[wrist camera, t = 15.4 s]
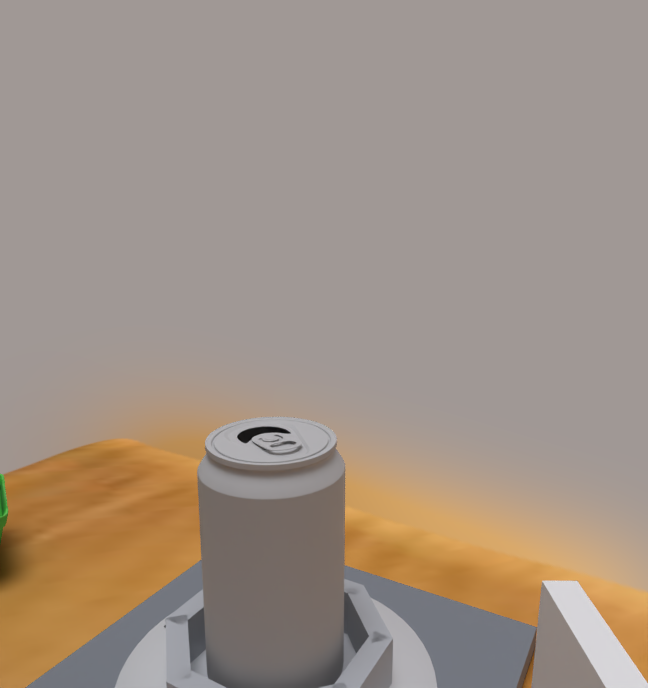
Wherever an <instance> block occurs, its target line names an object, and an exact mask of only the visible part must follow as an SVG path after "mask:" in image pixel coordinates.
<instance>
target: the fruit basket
mask: <svg viewBox="0 0 648 688" xmlns="http://www.w3.org/2000/svg"><path fill="white" fill-rule="evenodd" d="M7 516H8V507H7V499H6V491H5V481H4V476H3V475H2V474H0V543H1V537H2V531H3V527H4V526H5V524H6V521H7Z"/></svg>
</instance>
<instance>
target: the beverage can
mask: <svg viewBox="0 0 648 688" xmlns="http://www.w3.org/2000/svg"><path fill="white" fill-rule="evenodd" d="M336 445H337V438H336V435H335V433H334V432H333V431H332V430H331V429H330V428H328V427H327V426H325V425H323V424H320V423H317V422H314V421H310V420H306V419H300V418H292V417H262V418H252V419H246V420H241V421H237V422H233V423H230V424H227V425H224V426H222V427H220V428H218V429H216V430H215V431H213V432H212V433H211V434H209V436H208V437H207V438H206V442H205V449H206V455H205V456H204V458H203V459H202V461H201V463H200V465H199V467H198V471H197V475H198V496H199V517H200V538H201V559H202V579H203V600H204V621H205V642H206V663H207V675H208V679H210V680H212V681H214V682H216V683H218V684H220V685H222V686H224V687H226V688H319V687H323V686H328V685H333V684H335V682H336V681H337V680H338V678H339V677H340V675H341V673H342V669H343V662H344V549H345V463H344V460H343V458H342V457H341V455H340V454H339V452H338V451H337V450H336Z"/></svg>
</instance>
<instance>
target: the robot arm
mask: <svg viewBox="0 0 648 688" xmlns="http://www.w3.org/2000/svg"><path fill="white" fill-rule="evenodd" d="M531 688H648V683H647V682H646V680H645V679H644V677H643V676H642V674H641V673H640V671H639V670H638V669H637V667H636V666H635V664H634V663H633V661H632V660H631V658H630V657H629V655H628V654H627V653H626V651H625V650H624V648H623V647H622V645H621V644H620V642H619V641H618V640H617V638H616V637H615V635H614V634H613V632H612V631H611V629H610V628H609V626H608V625H607V624H606V622H605V621H604V619H603V618H602V616H601V615H600V613H599V612H598V611H597V609H596V608H595V606H594V605H593V603H592V602H591V600H590V599H589V597H588V596H587V595H586V593H585V592H584V590H583V589H582V587H581V586H580V584H579V583H578V582H577V581H542V587H541V597H540V607H539V617H538V627H537V637H536V647H535V657H534V667H533V677H532V687H531Z"/></svg>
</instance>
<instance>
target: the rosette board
mask: <svg viewBox="0 0 648 688" xmlns="http://www.w3.org/2000/svg"><path fill="white" fill-rule="evenodd" d="M536 631H537V627H534V626H531V625H528V624H525V623H522V622H519V621H516V620H513V619H509V618H506V617H503V616H500V615H497V614H494V613H491V612H488V611H485V610H482V609H478V608H475V607H472V606H469V605H466V604H463V603H460V602H457V601H454V600H450V599H447V598H444V597H441V596H438V595H435V594H432V593H429V592H426V591H423V590H419V589H416V588H413V587H410V586H407V585H404V584H401V583H398V582H395V581H392V580H388V579H385V578H382V577H379V576H376V575H373V574H370V573H367V572H364V571H361V570H357V569H354V568H351V567H348V566H345V565H344V662H343V669H342V673H341V675H340V677H339V678H338V680H337V681H336V682H335V684H333V685H328V686H323V687H319V688H522V685H523V682H524V679H525V676H526V673H527V670H528V667H529V664H530V661H531V658H532V655H533V652H534V649H535V643H536ZM26 688H226V687H224V686H222V685H220V684H218V683H216V682H214V681H212V680H210V679H208V675H207V663H206V642H205V621H204V600H203V579H202V560H200V561H199V562H198V563H196V564H195V565H194V566H192V567H191V568H189V569H188V570H187V571H185V572H184V573H183V574H181V575H180V576H178V577H177V578H176V579H174V580H173V581H172V582H170V583H169V584H167V585H166V586H165V587H163V588H162V589H161V590H159V591H158V592H156V593H155V594H154V595H152V596H151V597H150V598H148V599H147V600H145V601H144V602H143V603H141V604H140V605H138V606H137V607H136V608H134V609H133V610H132V611H130V612H129V613H127V614H126V615H125V616H123V617H122V618H121V619H119V620H118V621H116V622H115V623H114V624H112V625H111V626H110V627H108V628H107V629H105V630H104V631H103V632H101V633H100V634H99V635H97V636H96V637H94V638H93V639H92V640H90V641H89V642H88V643H86V644H85V645H83V646H82V647H81V648H79V649H78V650H77V651H75V652H74V653H72V654H71V655H70V656H68V657H67V658H66V659H64V660H63V661H61V662H60V663H59V664H57V665H56V666H55V667H53V668H52V669H50V670H49V671H48V672H46V673H45V674H44V675H42V676H41V677H39V678H38V679H37V680H35V681H34V682H32V683H31V684H30V685H28V686H27V687H26Z"/></svg>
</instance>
